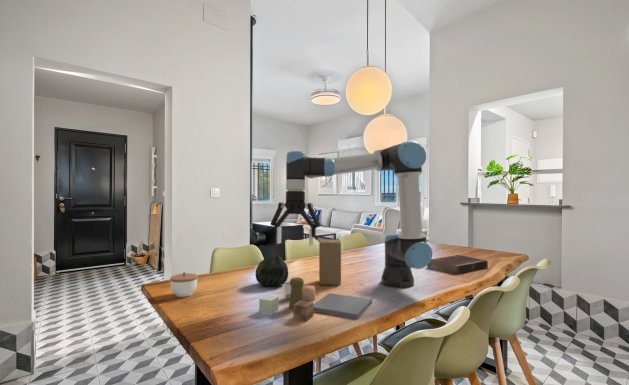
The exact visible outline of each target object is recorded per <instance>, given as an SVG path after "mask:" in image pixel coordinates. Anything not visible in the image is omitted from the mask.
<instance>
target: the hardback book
mask: <svg viewBox="0 0 629 385" xmlns="http://www.w3.org/2000/svg"><path fill="white" fill-rule="evenodd" d="M488 264H489V262H488V260H485V259H481V258H475V257H470V256H466V255H461V254H457V255H456V254H455V255H449V256H444V257H438V258H432V259H431V261H430V263H428V265H427V266H426V268H427V269H430V270H434V271H435V270H436V271H439V272H442V273H448V274H452V275H460V274H465V273H469V272H475V271H479V270H484V269H488V268H489V267H488V266H489V265H488Z"/></svg>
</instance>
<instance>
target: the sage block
mask: <svg viewBox="0 0 629 385" xmlns="http://www.w3.org/2000/svg"><path fill="white" fill-rule="evenodd" d="M258 300H259V301H258V306H259V307H258V312H259V314H265V315H270V316H271V315H273V314H275V313H277V312H279V308H280V307H279V303H280V301H279V296H275V295H271V294H269V295H268V294H267V295H264V296H262V297H260V298H259V299H258Z"/></svg>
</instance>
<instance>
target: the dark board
mask: <svg viewBox="0 0 629 385" xmlns="http://www.w3.org/2000/svg"><path fill="white" fill-rule="evenodd" d="M372 304H373V299H372V298H366V297H359V296H352V295H346V294H338V293H331V292H329V293H327V294H326V295H324V296H323V297H322V298H320V299H319V300H317V301H315V302H313V313H314V312H315V313H319V314H320V313H321V314H325V315H326V314H327V315H332V316H339V317H343V318H344V317H345V318H350V319H356V320H358V319H359V318H360V317H361V316H362V315H363V314H364V312H366V311H367V309H368V308H369V307H370V306H371V305H372Z"/></svg>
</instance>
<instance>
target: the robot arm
mask: <svg viewBox="0 0 629 385" xmlns="http://www.w3.org/2000/svg"><path fill="white" fill-rule="evenodd" d="M426 160H427V153H426V150H425V148H424V147H423V145H421V143H419V142H417V141H412V140H409V141H403V142H401V143H398V144H395V145H391V146H389V147H386V148H383V149H378V150H374V151H373V152H372V153H365V154H357V155H348V156H340V157H332V158H331V157H330V158H329V157H310V156H309V157H308V156H306V152H304V151H299V150H293V151H289V152H287V153H286V163H285V165H286V167H285V168H286V170H285V172H286V173H285V174H286V175H285V176H286V177H285V189H286V191H285V202H283V201H282V202H278V205H277V209H276V211H275V213H274V216H273V218H272V220H271V221H270V226H273V227H274V235H275V236H276V244H277V245H279V244H282V226H281V225H282V224H283V223H284V221H285V220H286V219H287V218H288V217H289V215H300V216H301V217H303V219H304V220H305V222H306V223H307V224H308V225H309V227H310V228H309V230H308V245H309V246H310V247H311V246H313V245H314V238H315V237H316V235H317V234H316V231H317V228H319V227H321V223H320V221H319V219H318V217H317V214H316V212H315V210H314V206H313V203H312V202H308V203H306V202H305V201H306V192H305V191H304V190H305V189H306V178H308V179H316V178H323V177H325V178H327V177H333V176H335V175H341V174H342V175H343V174H350V173H351V174H352V173H357V172H364V171H365V172H367V171H373V170H375V171H376V172H382V171H393V174H394V176H395V177H396V178H397V181H398V182H397V183H398V198H399V213H400V214H399V215H400V227H401V228H400V229H401V233H400V234H387V235H386V236H385V238H384V268H383V271H382V274H381V277H380V279H381V280H380V283H381V284H382V285H384V286H388V287H393V288H409V287H412V286H414V285H415V279H414V278H415V277H414V275H413V272H412V269H415V270H420V269H424V268H425V267H426V268H427V265H428V263H430V261H431V259H433V248H432V247H431V246H430V244H428V243H427V235H426V234H425V233H423V225H422V224H423V223H422V213H421V212H422V211H421V209H422V208H421V207H422V206H421V195H420V194H421V192H420V180H419V177H420V175H421V174H423V167H422V166H424V164H425V163H426ZM284 208H286V210H285V211H284V212H283V209H284ZM305 208H306V209H307V210H308V212H309V215H310V216H309V215H308V213H307V212H306V211H305ZM282 212H283V214H282ZM281 214H282V215H281ZM310 217H311V218H310Z"/></svg>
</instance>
